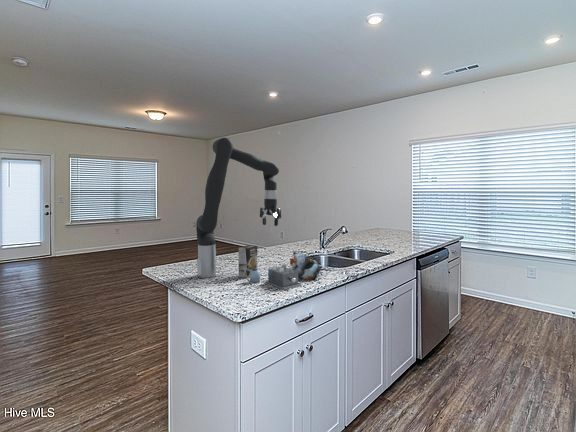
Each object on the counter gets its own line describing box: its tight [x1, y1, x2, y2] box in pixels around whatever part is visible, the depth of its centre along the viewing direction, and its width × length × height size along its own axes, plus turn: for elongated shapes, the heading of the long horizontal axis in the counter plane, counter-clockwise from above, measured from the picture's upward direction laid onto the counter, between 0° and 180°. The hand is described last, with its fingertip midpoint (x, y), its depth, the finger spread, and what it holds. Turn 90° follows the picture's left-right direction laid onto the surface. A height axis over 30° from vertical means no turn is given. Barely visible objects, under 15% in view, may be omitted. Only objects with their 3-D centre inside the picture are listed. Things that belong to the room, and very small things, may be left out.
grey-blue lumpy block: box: [289, 251, 323, 282], centre depth 174 cm, size 17×14×16 cm
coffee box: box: [238, 244, 258, 279], centre depth 176 cm, size 9×6×16 cm
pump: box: [249, 267, 261, 284], centre depth 165 cm, size 5×5×7 cm
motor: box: [265, 263, 302, 291], centre depth 160 cm, size 11×17×9 cm, turn 37°
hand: (270, 225), depth 193 cm, fingers open, 8 cm apart
